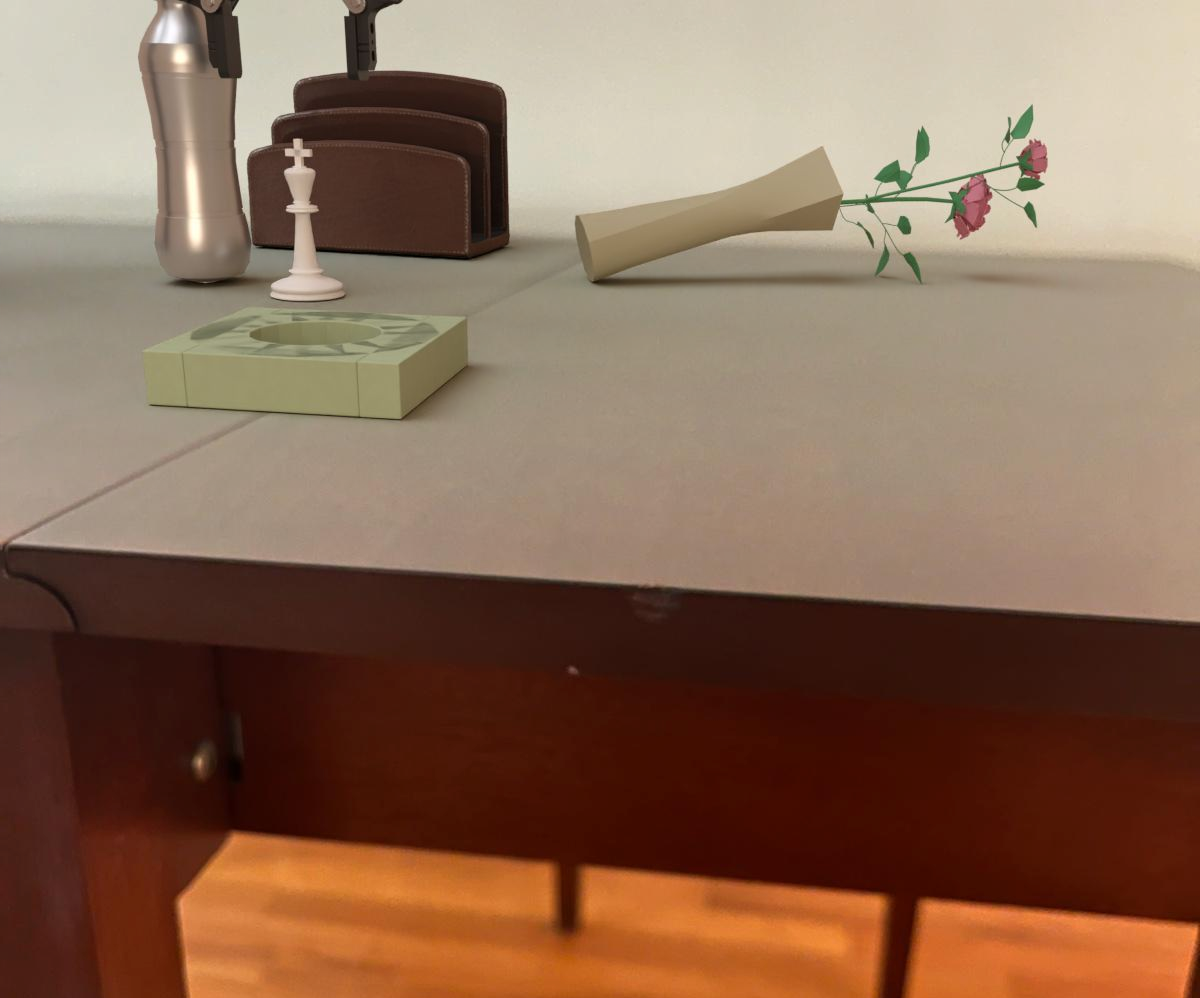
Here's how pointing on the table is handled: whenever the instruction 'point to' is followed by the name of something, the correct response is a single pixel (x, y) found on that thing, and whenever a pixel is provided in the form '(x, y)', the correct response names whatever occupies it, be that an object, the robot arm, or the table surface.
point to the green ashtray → (308, 362)
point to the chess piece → (304, 239)
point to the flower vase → (785, 208)
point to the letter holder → (390, 166)
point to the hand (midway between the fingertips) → (294, 79)
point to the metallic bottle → (193, 149)
